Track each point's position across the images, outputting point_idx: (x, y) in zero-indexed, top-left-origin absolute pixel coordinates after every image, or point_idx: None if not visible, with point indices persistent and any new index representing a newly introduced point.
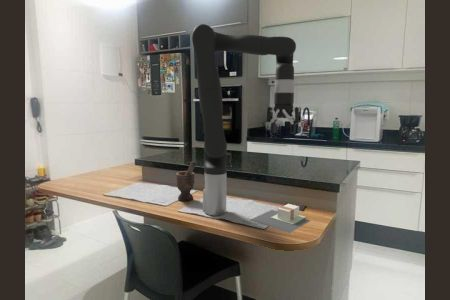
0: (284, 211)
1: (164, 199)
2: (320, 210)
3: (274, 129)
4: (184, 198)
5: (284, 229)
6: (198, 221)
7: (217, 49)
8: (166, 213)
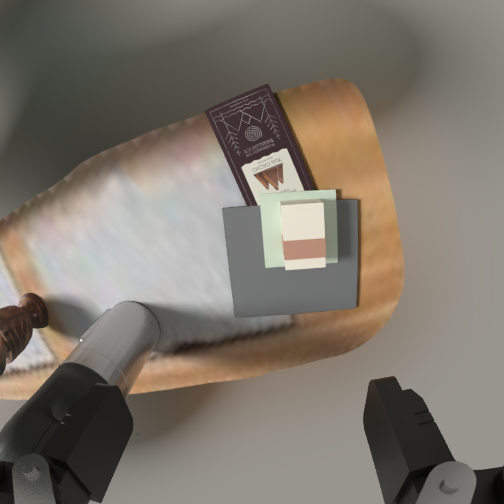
0: (309, 267)
1: None
2: (325, 89)
3: (113, 430)
4: (42, 325)
5: (336, 300)
6: (163, 382)
7: None
8: None
